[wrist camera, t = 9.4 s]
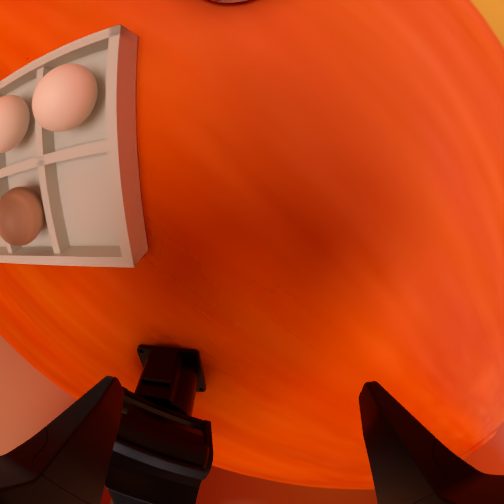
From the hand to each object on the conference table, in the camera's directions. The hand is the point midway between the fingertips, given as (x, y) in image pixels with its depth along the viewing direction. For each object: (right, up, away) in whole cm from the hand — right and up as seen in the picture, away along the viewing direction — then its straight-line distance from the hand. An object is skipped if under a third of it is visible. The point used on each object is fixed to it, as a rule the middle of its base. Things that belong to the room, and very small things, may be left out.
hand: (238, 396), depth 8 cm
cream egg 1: (-19, +16, +6) cm, 25 cm away
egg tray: (-19, +13, +9) cm, 24 cm away
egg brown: (-19, +9, +9) cm, 23 cm away
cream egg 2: (-12, +16, +6) cm, 21 cm away
